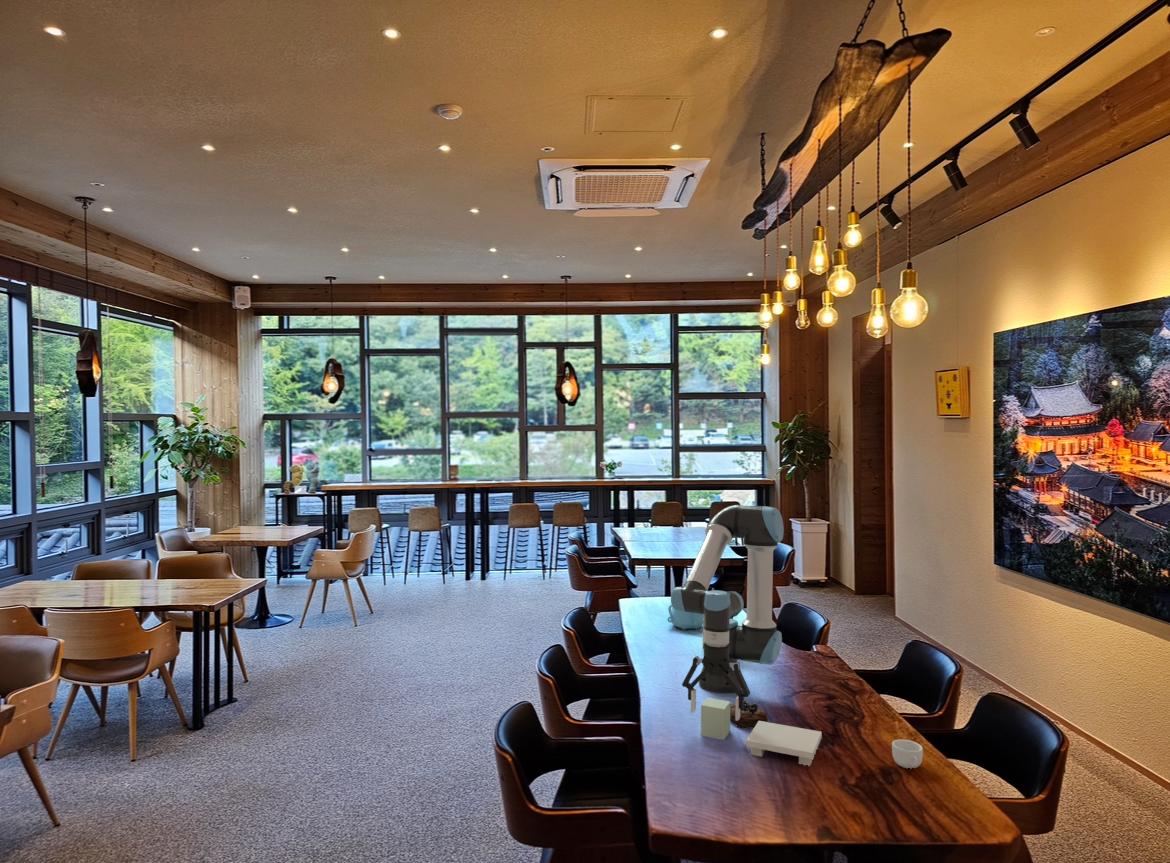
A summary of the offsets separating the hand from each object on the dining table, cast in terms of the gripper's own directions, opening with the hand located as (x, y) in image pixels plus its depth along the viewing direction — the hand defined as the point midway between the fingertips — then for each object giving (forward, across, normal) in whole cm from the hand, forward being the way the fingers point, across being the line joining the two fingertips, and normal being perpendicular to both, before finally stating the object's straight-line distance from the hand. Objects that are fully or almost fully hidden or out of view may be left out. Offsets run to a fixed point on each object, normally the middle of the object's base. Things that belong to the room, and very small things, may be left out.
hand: (715, 715), depth 220 cm
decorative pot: (+4, -46, +116) cm, 124 cm away
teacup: (+6, +53, +2) cm, 53 cm away
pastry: (+6, +6, +14) cm, 17 cm away
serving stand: (+6, +21, -4) cm, 22 cm away
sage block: (+6, 0, 0) cm, 6 cm away
